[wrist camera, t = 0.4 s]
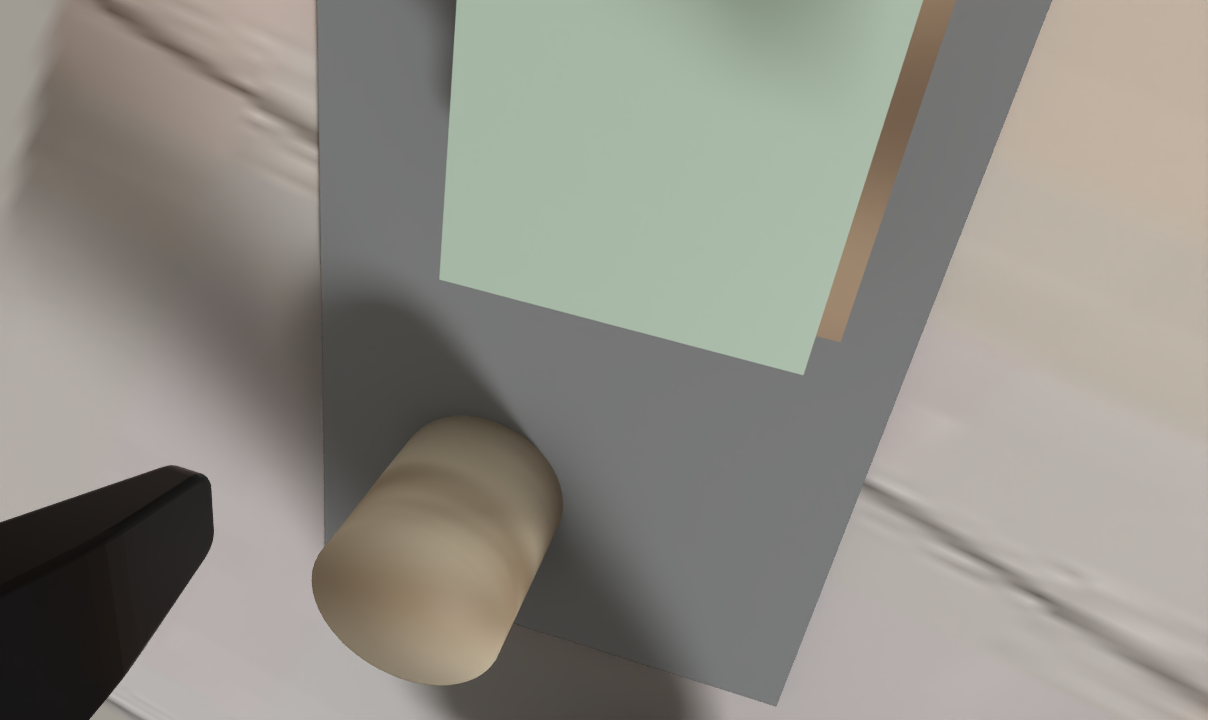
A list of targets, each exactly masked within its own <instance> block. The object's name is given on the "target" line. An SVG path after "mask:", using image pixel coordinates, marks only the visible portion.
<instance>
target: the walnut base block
mask: <svg viewBox="0 0 1208 720" xmlns="http://www.w3.org/2000/svg"><path fill="white" fill-rule="evenodd" d="M955 2H956V0H923V2H922V6H921V9H920V12H919V15H918V18H917V21H916V24H915V27H914V31H913V34H912V37H911V40H910V43H909V46H908V49H907V53H906V56H905V59H904V62H903V65H902V68H901V71H900V74H899V78H898V81H897V84H896V87H895V90H894V93H893V96H892V99H891V103H890V106H889V109H888V112H887V115H886V118H885V121H884V125H883V128H882V131H881V134H880V137H879V140H878V143H877V146H876V150H875V153H874V156H873V159H872V162H871V165H870V168H869V171H868V175H867V178H866V181H865V184H864V187H863V190H862V193H861V197H860V200H859V203H858V206H857V209H856V212H855V215H854V218H853V222H852V225H851V228H850V231H849V234H848V237H847V240H846V244H845V247H844V250H843V253H842V256H841V259H840V262H839V265H838V269H837V272H836V275H835V278H834V281H833V284H832V287H831V290H830V294H829V297H828V300H827V303H826V306H825V309H824V312H823V316H822V319H821V322H820V325H819V328H818V331H817V334H816V336H817V337H821V338H825V339H829V340H833V341H837V342H841V339H842V336H843V333H844V331H845V328H846V325H847V322H848V319H849V316H850V313H851V310H852V307H853V304H854V301H855V298H856V295H857V292H858V289H859V286H860V283H861V280H862V277H863V274H864V271H865V268H866V265H867V262H868V259H869V256H870V253H871V250H872V248H873V245H874V242H875V239H876V236H877V233H878V230H879V227H880V224H881V221H882V218H883V215H884V212H885V209H886V206H887V203H888V200H889V197H890V194H891V191H892V188H893V185H894V182H895V179H896V176H897V173H898V170H899V168H900V165H901V162H902V159H903V156H904V153H905V150H906V147H907V144H908V141H909V138H910V135H911V132H912V129H913V126H914V123H915V120H916V117H917V114H918V111H919V108H920V105H921V102H922V99H923V96H924V93H925V90H926V88H927V85H928V82H929V79H930V76H931V73H932V70H933V67H934V64H935V61H936V58H937V55H938V52H939V49H940V46H941V43H942V40H943V37H944V34H945V31H946V28H947V25H948V22H949V19H950V16H951V13H952V10H953V8H954V5H955Z"/></svg>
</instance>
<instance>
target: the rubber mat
mask: <svg viewBox="0 0 1208 720" xmlns="http://www.w3.org/2000/svg"><path fill="white" fill-rule="evenodd" d="M1051 2H1052V0H956V2H955V5H954V8H953V10H952V13H951V16H950V19H949V22H948V25H947V28H946V31H945V34H944V37H943V40H942V43H941V46H940V49H939V52H938V55H937V58H936V61H935V64H934V67H933V70H932V73H931V76H930V79H929V82H928V85H927V88H926V90H925V93H924V96H923V99H922V102H921V105H920V108H919V111H918V114H917V117H916V120H915V123H914V126H913V129H912V132H911V135H910V138H909V141H908V144H907V147H906V150H905V153H904V156H903V159H902V162H901V165H900V168H899V170H898V173H897V176H896V179H895V182H894V185H893V188H892V191H891V194H890V197H889V200H888V203H887V206H886V209H885V212H884V215H883V218H882V221H881V224H880V227H879V230H878V233H877V236H876V239H875V242H874V245H873V248H872V250H871V253H870V256H869V259H868V262H867V265H866V268H865V271H864V274H863V277H862V280H861V283H860V286H859V289H858V292H857V295H856V298H855V301H854V304H853V307H852V310H851V313H850V316H849V319H848V322H847V325H846V328H845V331H844V333H843V336H842V339H841V342H837V341H833V340H829V339H825V338H821V337H817V336H816V337H815V341H814V344H813V347H812V350H811V353H810V356H809V359H808V362H807V366H806V369H805V372H804V375H800V374H797V373H793V372H789V371H785V370H781V369H778V368H774V367H770V366H766V365H762V364H759V363H755V362H751V361H747V360H743V359H740V358H736V357H732V356H728V355H724V354H721V353H717V352H713V351H709V350H705V349H702V348H698V347H694V346H690V345H686V344H683V343H679V342H675V341H671V340H667V339H664V338H660V337H656V336H652V335H648V334H645V333H641V332H637V331H633V330H629V329H626V328H622V327H618V326H614V325H610V324H607V323H603V322H599V321H595V320H591V319H588V318H584V317H580V316H576V315H572V314H569V313H565V312H561V311H557V310H553V309H550V308H546V307H542V306H538V305H534V304H531V303H527V302H523V301H519V300H515V299H512V298H508V297H504V296H500V295H496V294H493V293H489V292H485V291H481V290H477V289H474V288H470V287H466V286H462V285H458V284H455V283H451V282H447V281H443V280H439V277H440V261H441V245H442V229H443V213H444V196H445V180H446V164H447V148H448V132H449V116H450V100H451V84H452V68H453V51H454V35H455V19H456V3H457V0H317V33H318V100H319V167H320V234H321V301H322V368H323V434H324V501H325V546H326V544H327V543H328V542H329V540H330V539H331V538H332V537H333V535H334V534H335V533H336V532H337V530H338V529H339V528H340V527H341V525H342V524H343V523H344V522H345V520H346V519H347V518H348V516H349V515H350V514H351V513H352V511H353V510H354V509H355V508H356V506H357V505H358V504H359V503H360V501H361V500H362V499H363V498H364V496H365V495H366V494H367V492H368V491H369V490H370V489H371V487H372V486H373V485H374V484H375V482H376V481H377V480H378V479H379V477H380V476H381V475H382V473H383V472H384V471H385V470H386V468H387V467H388V466H389V465H390V463H391V462H392V461H393V460H394V458H395V457H396V456H397V455H398V453H399V452H400V451H401V449H402V448H403V447H404V446H405V444H406V443H407V442H408V441H409V439H410V438H411V437H412V436H413V434H414V433H415V432H417V431H418V430H419V429H420V428H421V427H423V426H424V425H426V424H427V423H430V422H432V421H434V420H437V419H440V418H444V417H450V416H474V417H480V418H484V419H488V420H491V421H494V422H497V423H500V424H502V425H504V426H506V427H508V428H510V429H512V430H514V431H515V432H517V433H519V434H520V435H522V436H523V437H524V438H526V439H527V440H528V441H530V442H531V443H532V444H533V445H534V446H535V447H536V448H537V449H538V450H539V451H540V452H541V453H542V454H543V455H544V457H545V458H546V459H547V461H548V462H549V463H550V465H551V466H552V468H553V470H554V472H555V474H556V476H557V478H558V481H559V483H560V486H561V490H562V495H563V513H562V517H561V521H560V523H559V526H558V528H557V530H556V532H555V534H554V536H553V538H552V541H551V543H550V545H549V547H548V549H547V551H546V553H545V556H544V558H543V560H542V562H541V564H540V566H539V568H538V571H537V573H536V575H535V577H534V579H533V581H532V583H531V586H530V588H529V590H528V592H527V594H526V596H525V598H524V601H523V603H522V605H521V607H520V609H519V611H518V613H517V616H516V618H515V620H514V622H513V623H514V624H517V625H521V626H524V627H527V628H530V629H533V630H536V631H540V632H543V633H546V634H549V635H552V636H555V637H558V638H562V639H565V640H568V641H571V642H574V643H577V644H581V645H584V646H587V647H590V648H593V649H596V650H599V651H603V652H606V653H609V654H612V655H615V656H618V657H622V658H625V659H628V660H631V661H634V662H637V663H641V664H644V665H647V666H650V667H653V668H656V669H659V670H663V671H666V672H669V673H672V674H675V675H678V676H682V677H685V678H688V679H691V680H694V681H697V682H700V683H704V684H707V685H710V686H713V687H716V688H719V689H723V690H726V691H729V692H732V693H735V694H738V695H742V696H745V697H748V698H751V699H754V700H757V701H760V702H764V703H767V704H770V705H773V706H777V703H778V701H779V698H780V696H781V693H782V690H783V688H784V685H785V683H786V680H787V678H788V675H789V673H790V670H791V667H792V665H793V662H794V660H795V657H796V655H797V652H798V649H799V647H800V644H801V642H802V639H803V637H804V634H805V632H806V629H807V626H808V624H809V621H810V619H811V616H812V614H813V611H814V608H815V606H816V603H817V601H818V598H819V596H820V593H821V591H822V588H823V585H824V583H825V580H826V578H827V575H828V573H829V570H830V568H831V565H832V562H833V560H834V557H835V555H836V552H837V550H838V547H839V544H840V542H841V539H842V537H843V534H844V532H845V529H846V527H847V524H848V521H849V519H850V516H851V514H852V511H853V509H854V506H855V503H856V501H857V498H858V496H859V493H860V491H861V488H862V486H863V483H864V480H865V478H866V475H867V473H868V470H869V468H870V465H871V463H872V460H873V457H874V455H875V452H876V450H877V447H878V445H879V442H880V439H881V437H882V434H883V432H884V429H885V427H886V424H887V422H888V419H889V416H890V414H891V411H892V409H893V406H894V404H895V401H896V398H897V396H898V393H899V391H900V388H901V386H902V383H903V381H904V378H905V375H906V373H907V370H908V368H909V365H910V363H911V360H912V358H913V355H914V352H915V350H916V347H917V345H918V342H919V340H920V337H921V334H922V332H923V329H924V327H925V324H926V322H927V319H928V317H929V314H930V311H931V309H932V306H933V304H934V301H935V299H936V296H937V293H938V291H939V288H940V286H941V283H942V281H943V278H944V276H945V273H946V270H947V268H948V265H949V263H950V260H951V258H952V255H953V252H954V250H955V247H956V245H957V242H958V240H959V237H960V235H961V232H962V229H963V227H964V224H965V222H966V219H967V217H968V214H969V212H970V209H971V206H972V204H973V201H974V199H975V196H976V194H977V191H978V188H979V186H980V183H981V181H982V178H983V176H984V173H985V171H986V168H987V165H988V163H989V160H990V158H991V155H992V153H993V150H994V147H995V145H996V142H997V140H998V137H999V135H1000V132H1001V130H1002V127H1003V124H1004V122H1005V119H1006V117H1007V114H1008V112H1009V109H1010V107H1011V104H1012V101H1013V99H1014V96H1015V94H1016V91H1017V89H1018V86H1019V83H1020V81H1021V78H1022V76H1023V73H1024V71H1025V68H1026V66H1027V63H1028V60H1029V58H1030V55H1031V53H1032V50H1033V48H1034V45H1035V42H1036V40H1037V37H1038V35H1039V32H1040V30H1041V27H1042V25H1043V22H1044V19H1045V17H1046V14H1047V12H1048V9H1049V7H1050V4H1051Z"/></svg>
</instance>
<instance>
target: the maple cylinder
mask: <svg viewBox="0 0 1208 720" xmlns="http://www.w3.org/2000/svg"><path fill="white" fill-rule="evenodd" d="M562 513H563V495H562V490H561V486H560V483H559V481H558V478H557V476H556V474H555V472H554V470H553V468H552V466H551V465H550V463H549V462H548V461H547V459H546V458H545V457H544V455H543V454H542V453H541V452H540V451H539V450H538V449H537V448H536V447H535V446H534V445H533V444H532V443H531V442H530V441H528V440H527V439H526V438H524V437H523V436H522V435H520V434H519V433H517V432H515V431H514V430H512V429H510V428H508V427H506V426H504V425H502V424H500V423H497V422H494V421H491V420H488V419H484V418H480V417H474V416H450V417H444V418H440V419H437V420H434V421H432V422H430V423H427V424H426V425H424V426H423V427H421V428H420V429H419V430H418V431H417V432H415V433H414V434H413V436H412V437H411V438H410V439H409V441H408V442H407V443H406V444H405V446H404V447H403V448H402V449H401V451H400V452H399V453H398V455H397V456H396V457H395V458H394V460H393V461H392V462H391V463H390V465H389V466H388V467H387V468H386V470H385V471H384V472H383V473H382V475H381V476H380V477H379V479H378V480H377V481H376V482H375V484H374V485H373V486H372V487H371V489H370V490H369V491H368V492H367V494H366V495H365V496H364V498H363V499H362V500H361V501H360V503H359V504H358V505H357V506H356V508H355V509H354V510H353V511H352V513H351V514H350V515H349V516H348V518H347V519H346V520H345V522H344V523H343V524H342V525H341V527H340V528H339V529H338V530H337V532H336V533H335V534H334V535H333V537H332V538H331V539H330V540H329V542H328V543H327V544H326V546H325V547H324V548H323V549H322V551H321V552H320V553H319V555H318V557H317V559H316V561H315V563H314V567H313V571H312V588H313V594H314V597H315V601H316V604H317V606H318V608H319V611H320V613H321V614H322V616H323V618H324V620H325V621H326V623H327V624H328V626H329V627H330V629H331V630H332V631H333V632H334V633H335V635H336V636H337V637H338V638H339V639H340V640H341V641H342V642H343V643H344V644H345V645H346V646H347V647H348V648H349V649H350V650H352V651H353V652H354V653H355V654H356V655H358V656H359V657H361V658H362V659H363V660H365V661H366V662H368V663H370V664H371V665H373V666H375V667H376V668H378V669H380V670H382V671H384V672H386V673H388V674H391V675H393V676H396V677H399V678H401V679H404V680H408V681H411V682H416V683H421V684H427V685H453V684H460V683H463V682H467V681H470V680H472V679H474V678H477V677H478V676H480V675H481V674H483V673H484V672H485V671H487V670H488V669H489V668H490V667H491V666H492V664H493V663H494V661H495V660H496V658H497V656H498V654H499V652H500V650H501V648H502V646H503V643H504V641H505V639H506V637H507V635H508V633H509V631H510V628H511V626H512V624H513V622H514V620H515V618H516V616H517V613H518V611H519V609H520V607H521V605H522V603H523V601H524V598H525V596H526V594H527V592H528V590H529V588H530V586H531V583H532V581H533V579H534V577H535V575H536V573H537V571H538V568H539V566H540V564H541V562H542V560H543V558H544V556H545V553H546V551H547V549H548V547H549V545H550V543H551V541H552V538H553V536H554V534H555V532H556V530H557V528H558V526H559V523H560V521H561V517H562Z"/></svg>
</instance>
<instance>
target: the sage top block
mask: <svg viewBox="0 0 1208 720" xmlns="http://www.w3.org/2000/svg"><path fill="white" fill-rule="evenodd" d="M922 2H923V0H457V3H456V19H455V35H454V51H453V68H452V84H451V100H450V116H449V132H448V148H447V164H446V180H445V196H444V213H443V229H442V245H441V261H440V277H439V280H443V281H447V282H451V283H455V284H458V285H462V286H466V287H470V288H474V289H477V290H481V291H485V292H489V293H493V294H496V295H500V296H504V297H508V298H512V299H515V300H519V301H523V302H527V303H531V304H534V305H538V306H542V307H546V308H550V309H553V310H557V311H561V312H565V313H569V314H572V315H576V316H580V317H584V318H588V319H591V320H595V321H599V322H603V323H607V324H610V325H614V326H618V327H622V328H626V329H629V330H633V331H637V332H641V333H645V334H648V335H652V336H656V337H660V338H664V339H667V340H671V341H675V342H679V343H683V344H686V345H690V346H694V347H698V348H702V349H705V350H709V351H713V352H717V353H721V354H724V355H728V356H732V357H736V358H740V359H743V360H747V361H751V362H755V363H759V364H762V365H766V366H770V367H774V368H778V369H781V370H785V371H789V372H793V373H797V374H800V375H804V372H805V369H806V366H807V362H808V359H809V356H810V353H811V350H812V347H813V344H814V341H815V337H816V334H817V331H818V328H819V325H820V322H821V319H822V316H823V312H824V309H825V306H826V303H827V300H828V297H829V294H830V290H831V287H832V284H833V281H834V278H835V275H836V272H837V269H838V265H839V262H840V259H841V256H842V253H843V250H844V247H845V244H846V240H847V237H848V234H849V231H850V228H851V225H852V222H853V218H854V215H855V212H856V209H857V206H858V203H859V200H860V197H861V193H862V190H863V187H864V184H865V181H866V178H867V175H868V171H869V168H870V165H871V162H872V159H873V156H874V153H875V150H876V146H877V143H878V140H879V137H880V134H881V131H882V128H883V125H884V121H885V118H886V115H887V112H888V109H889V106H890V103H891V99H892V96H893V93H894V90H895V87H896V84H897V81H898V78H899V74H900V71H901V68H902V65H903V62H904V59H905V56H906V53H907V49H908V46H909V43H910V40H911V37H912V34H913V31H914V27H915V24H916V21H917V18H918V15H919V12H920V9H921V6H922Z"/></svg>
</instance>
